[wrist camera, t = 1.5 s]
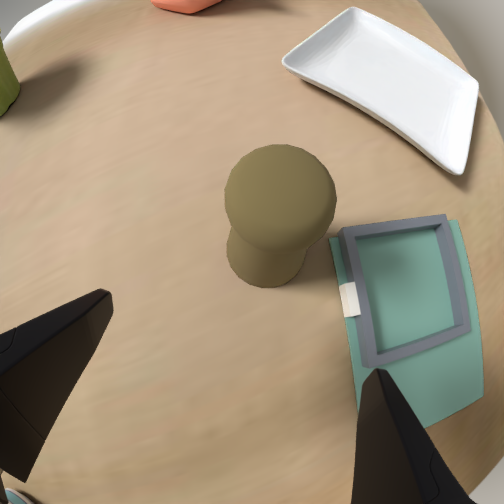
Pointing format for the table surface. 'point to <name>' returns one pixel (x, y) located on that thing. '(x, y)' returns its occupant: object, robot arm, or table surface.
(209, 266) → the table surface
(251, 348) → the table surface
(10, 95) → the plant pot
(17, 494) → the beverage can
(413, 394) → the board
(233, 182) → the cork
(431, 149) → the salad plate
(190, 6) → the teapot
